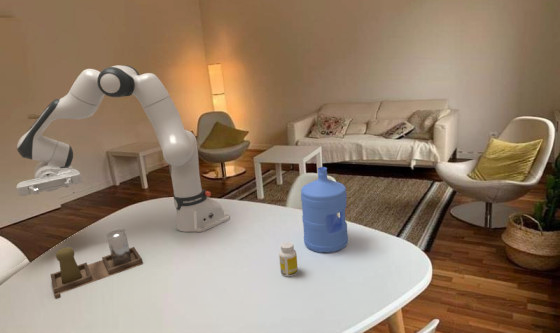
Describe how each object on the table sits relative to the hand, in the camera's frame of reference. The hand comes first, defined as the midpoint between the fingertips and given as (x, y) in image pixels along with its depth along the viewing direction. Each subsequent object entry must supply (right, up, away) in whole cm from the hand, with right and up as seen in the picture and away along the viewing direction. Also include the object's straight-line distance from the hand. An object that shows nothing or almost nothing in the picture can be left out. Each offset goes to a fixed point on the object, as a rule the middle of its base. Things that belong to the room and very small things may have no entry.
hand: (51, 188), depth 134 cm
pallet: (+17, -29, -2) cm, 33 cm away
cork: (+11, -30, -7) cm, 32 cm away
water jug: (+95, -20, +6) cm, 97 cm away
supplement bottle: (+81, -26, -11) cm, 86 cm away
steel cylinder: (+24, -26, +2) cm, 35 cm away
